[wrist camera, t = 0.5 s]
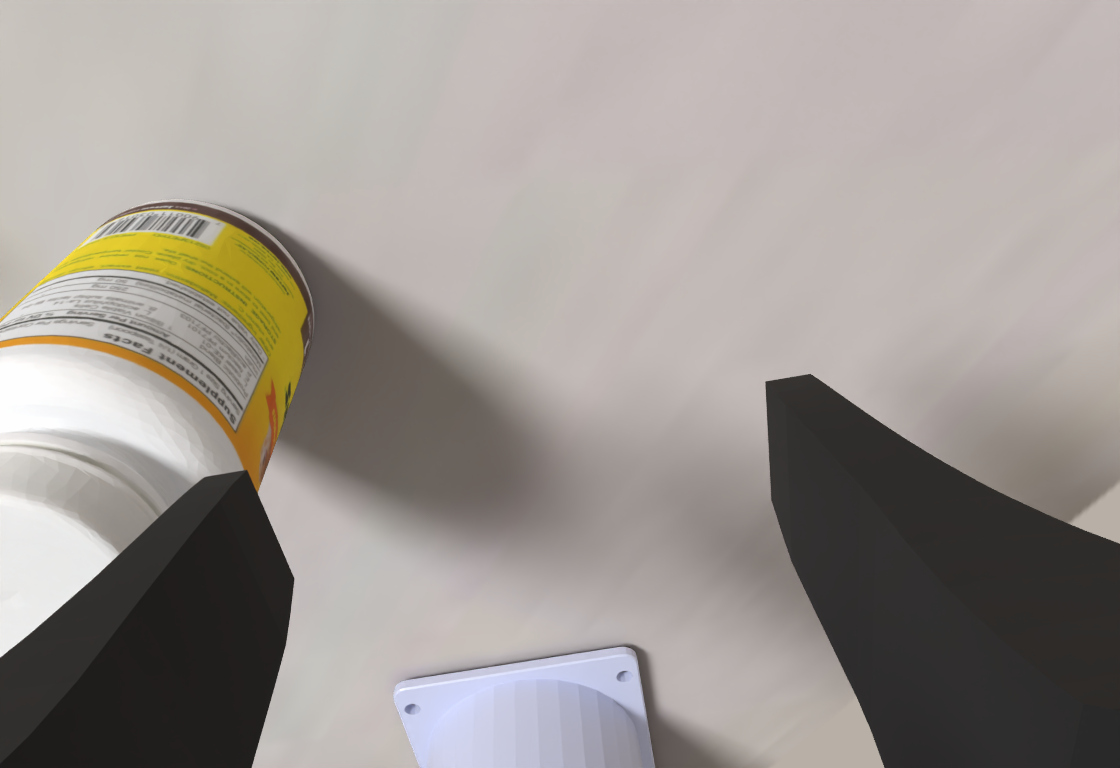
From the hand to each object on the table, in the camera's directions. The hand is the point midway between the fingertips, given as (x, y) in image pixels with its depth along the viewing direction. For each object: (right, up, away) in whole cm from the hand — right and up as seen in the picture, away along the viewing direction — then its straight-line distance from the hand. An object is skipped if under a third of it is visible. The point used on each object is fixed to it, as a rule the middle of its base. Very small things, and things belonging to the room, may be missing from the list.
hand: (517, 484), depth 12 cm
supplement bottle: (-8, +4, +10) cm, 13 cm away
